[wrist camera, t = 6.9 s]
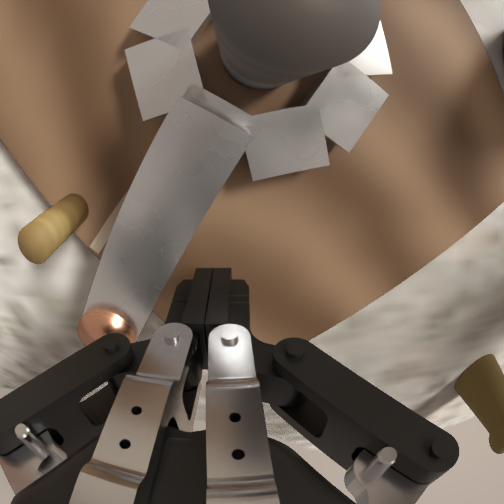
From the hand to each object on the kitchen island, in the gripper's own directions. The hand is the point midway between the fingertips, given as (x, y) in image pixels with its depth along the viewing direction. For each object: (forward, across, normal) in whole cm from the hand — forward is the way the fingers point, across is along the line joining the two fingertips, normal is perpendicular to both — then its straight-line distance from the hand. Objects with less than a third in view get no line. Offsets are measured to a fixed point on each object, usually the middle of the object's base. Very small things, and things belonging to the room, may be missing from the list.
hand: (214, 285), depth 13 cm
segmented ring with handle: (+2, 0, -6) cm, 6 cm away
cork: (+5, -27, +17) cm, 32 cm away
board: (+4, -2, -10) cm, 10 cm away
